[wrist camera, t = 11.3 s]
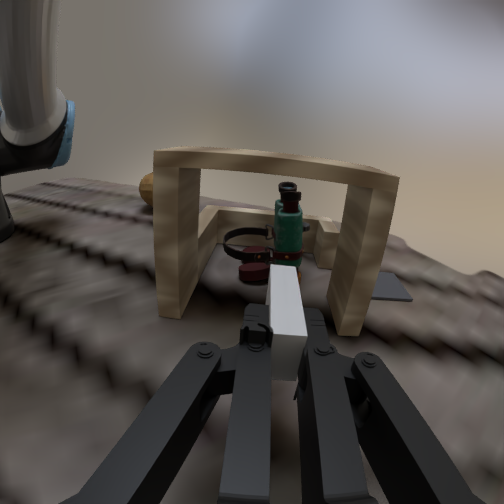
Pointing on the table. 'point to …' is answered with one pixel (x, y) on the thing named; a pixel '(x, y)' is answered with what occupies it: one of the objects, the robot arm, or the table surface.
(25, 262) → the table surface
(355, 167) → the tunnel
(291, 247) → the binoculars
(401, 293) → the mat
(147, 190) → the potato
